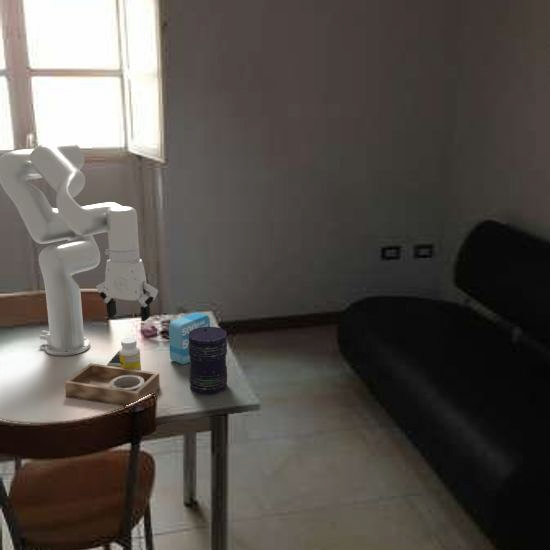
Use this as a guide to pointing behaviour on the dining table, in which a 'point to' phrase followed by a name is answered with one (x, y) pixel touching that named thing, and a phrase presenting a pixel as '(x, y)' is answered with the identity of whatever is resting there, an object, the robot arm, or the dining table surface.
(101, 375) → the walnut box
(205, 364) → the storage jar
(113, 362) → the cell phone
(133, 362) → the supplement bottle
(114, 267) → the robot arm
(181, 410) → the dining table surface
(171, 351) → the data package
